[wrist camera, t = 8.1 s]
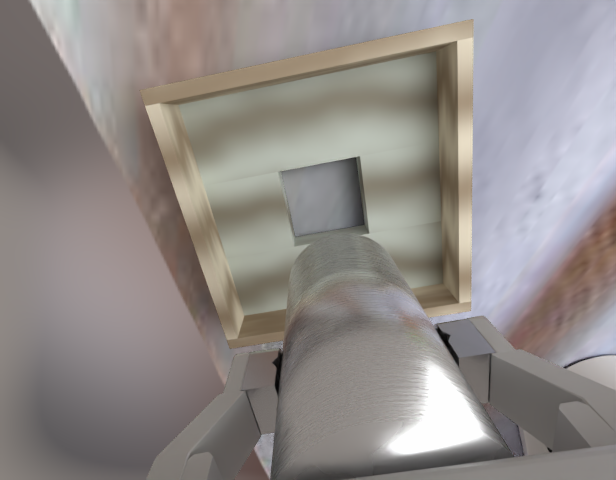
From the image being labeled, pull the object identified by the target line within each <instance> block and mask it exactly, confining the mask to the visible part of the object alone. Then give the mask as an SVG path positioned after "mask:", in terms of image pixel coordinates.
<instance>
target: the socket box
mask: <svg viewBox="0 0 616 480" xmlns="http://www.w3.org/2000/svg"><path fill="white" fill-rule="evenodd" d="M140 93H141V96H142V99H143V102H144V105H145V107H146V110H147V113H148V116H149V119H150V122H151V125H152V127H153V130H154V133H155V136H156V139H157V142H158V145H159V147H160V150H161V153H162V156H163V159H164V162H165V165H166V168H167V170H168V173H169V176H170V179H171V182H172V185H173V188H174V190H175V193H176V196H177V199H178V202H179V205H180V208H181V210H182V213H183V216H184V219H185V222H186V225H187V228H188V230H189V233H190V236H191V239H192V242H193V245H194V248H195V251H196V253H197V256H198V259H199V262H200V265H201V268H202V271H203V273H204V276H205V279H206V282H207V285H208V288H209V291H210V293H211V296H212V299H213V302H214V305H215V308H216V311H217V313H218V316H219V319H220V322H221V325H222V328H223V331H224V334H225V336H226V339H227V342H228V345H229V348H230V349H231V348H238V347H244V346H251V345H257V344H263V343H270V342H276V341H283V340H284V330H285V319H286V309H287V298H288V288H289V278H290V272H291V269H292V266H293V264H294V262H295V260H296V259H297V257H298V256H299V255H300V253H301V252H302V251H303V250H304V249H305V248H306V247H307V246H309V245H310V244H312V243H313V242H315V241H316V240H318V239H320V238H323V237H326V236H329V235H333V234H339V233H352V234H358V235H362V236H365V237H368V238H370V239H372V240H374V241H376V242H377V243H379V244H380V245H381V246H382V247H383V248H384V249H385V250H386V251H387V252H388V253H389V255H390V256H391V258H392V259H393V261H394V263H395V264H396V266H397V267H398V269H399V271H400V272H401V274H402V275H403V277H404V279H405V280H406V282H407V284H408V285H409V287H410V288H411V290H412V292H413V293H414V295H415V297H416V298H417V300H418V301H419V303H420V305H421V306H422V308H423V310H424V311H425V313H426V314H427V316H428V318H429V317H436V316H442V315H448V314H455V313H461V312H468V311H471V259H472V136H473V19H471V20H466V21H462V22H457V23H452V24H448V25H443V26H438V27H433V28H429V29H424V30H419V31H415V32H410V33H405V34H401V35H396V36H391V37H387V38H382V39H377V40H372V41H368V42H363V43H358V44H354V45H349V46H344V47H340V48H335V49H330V50H326V51H321V52H316V53H312V54H307V55H302V56H297V57H293V58H288V59H283V60H279V61H274V62H269V63H265V64H260V65H255V66H251V67H246V68H241V69H237V70H232V71H227V72H222V73H218V74H213V75H208V76H204V77H199V78H194V79H190V80H185V81H180V82H176V83H171V84H166V85H161V86H157V87H152V88H147V89H143V90H140ZM353 157H356V160H357V168H358V176H359V184H360V192H361V200H362V208H363V216H364V224H365V225H361V226H355V227H349V228H344V229H338V230H332V231H327V232H321V233H315V234H310V235H304V236H298V237H295V234H294V229H293V225H292V220H291V215H290V211H289V206H288V201H287V197H286V192H285V188H284V183H283V178H282V174H281V171H285V170H290V169H296V168H301V167H306V166H311V165H317V164H322V163H327V162H332V161H337V160H343V159H348V158H353Z"/></svg>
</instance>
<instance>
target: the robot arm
mask: <svg viewBox="0 0 616 480" xmlns="http://www.w3.org/2000/svg"><path fill="white" fill-rule="evenodd" d="M434 327H435V329H436V331H437V332H438V334H439V336H440V337H441V339H442V340H443V342H444V344H445V345H446V347H447V349H448V350H449V352H450V353H451V355H452V357H453V358H454V360H455V362H456V363H457V365H458V366H459V368H460V370H461V371H462V373H463V375H464V376H465V378H466V379H467V381H468V383H469V384H470V386H471V388H472V389H473V391H474V392H475V394H476V396H477V397H478V399H479V401H480V402H481V403H489V404H490V405H491V406H493V407H494V408H495V409H497V410H498V411H499V412H501V413H502V414H504V415H505V416H506V417H508V418H509V419H510V420H512V421H513V422H514V423H516V424H517V425H518V427H519V432H520V437H521V441H522V446H523V451H524V456H520V457H513V458H505V459H497V460H490V461H482V462H474V463H466V464H459V465H451V466H443V467H436V468H428V469H420V470H412V471H405V472H397V473H389V474H381V475H374V476H366V477H358V478H350V479H343V480H616V355H610V356H600V357H595V358H591V359H587V360H584V361H581V362H579V363H576V364H574V365H572V366H570V367H568V368H566V369H565V368H563V367H560V366H558V365H556V364H553V363H551V362H549V361H546V360H544V359H542V358H540V357H537V356H535V355H533V354H530V353H528V352H526V351H523V350H521V349H520V350H515V349H514V348H513V346H512V345H511V344H510V343H509V342H508V341H507V340H506V339H505V338H504V337H503V336H502V334H501V333H500V332H499V331H498V330H497V329H496V328H495V327H494V326H493V325H492V324H491V322H490V321H489V320H488V319H487V318H486V317H484V316H477V317H472V318H466V319H463V320H456V321H450V322H444V323H438V324H435V325H434ZM281 361H282V350H281V349H280V348H278V349H270V350H263V351H255V352H251V353H250V352H249V353H242V354H236V355H235V357H234V358H233V362H232V365H231V368H230V372H229V375H228V378H227V382H226V385H225V388H224V392H223V394H219V395H218V396H217V397H216V398H215V399H214V400H213V401H212V402H211V403H210V404H209V405H208V406H207V407H206V408H205V409H204V410H203V411H202V412H201V413H200V414H199V415H198V416H197V417H196V418H195V419H194V420H193V421H192V422H191V423H190V424H189V425H188V426H187V427H186V428H185V429H184V430H183V431H182V432H181V433H180V434H179V435H178V436H177V437H176V438H175V439H174V440H173V441H172V442H171V443H170V444H169V445H168V446H167V447H166V448H165V449H164V450H163V451H162V452H161V453H160V454H159V455H158V456H157V457H156V458H155V460H154V463H153V465H152V467H151V469H150V472H149V474H148V476H147V479H146V480H234V479H235V477H236V476H237V474H238V472H239V471H240V469H241V468H242V466H243V464H244V463H245V461H246V460H247V458H248V456H249V455H250V453H251V451H252V450H253V448H254V447H255V445H256V444H257V442H258V440H259V439H260V437H261V435H262V434H268V433H273V432H275V424H276V414H277V403H278V393H279V382H280V372H281Z"/></svg>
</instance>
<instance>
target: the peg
mask: <svg viewBox="0 0 616 480" xmlns="http://www.w3.org/2000/svg"><path fill="white" fill-rule="evenodd" d="M513 457H514V456H513V454H512V453H511V451H510V449H509V448H508V446H507V444H506V443H505V441H504V440H503V438H502V436H501V435H500V433H499V431H498V430H497V428H496V427H495V425H494V423H493V422H492V420H491V418H490V417H489V415H488V414H487V412H486V410H485V409H484V407H483V405H482V404H481V402H480V401H479V399H478V397H477V396H476V394H475V392H474V391H473V389H472V388H471V386H470V384H469V383H468V381H467V379H466V378H465V376H464V375H463V373H462V371H461V370H460V368H459V366H458V365H457V363H456V362H455V360H454V358H453V357H452V355H451V353H450V352H449V350H448V349H447V347H446V345H445V344H444V342H443V340H442V339H441V337H440V336H439V334H438V332H437V331H436V329H435V327H434V326H433V324H432V323H431V321H430V319H429V318H428V316H427V314H426V313H425V311H424V310H423V308H422V306H421V305H420V303H419V301H418V300H417V298H416V297H415V295H414V293H413V292H412V290H411V288H410V287H409V285H408V284H407V282H406V280H405V279H404V277H403V275H402V274H401V272H400V271H399V269H398V267H397V266H396V264H395V263H394V261H393V259H392V258H391V256H390V255H389V253H388V252H387V251H386V250H385V249H384V248H383V247H382V246H381V245H380V244H379V243H377V242H376V241H374V240H372V239H370V238H368V237H365V236H362V235H358V234H352V233H339V234H333V235H329V236H326V237H323V238H320V239H318V240H316V241H315V242H313V243H312V244H310V245H309V246H307V247H306V248H305V249H304V250H303V251H302V252H301V253H300V255H299V256H298V257H297V259H296V260H295V262H294V264H293V266H292V269H291V272H290V278H289V288H288V298H287V309H286V319H285V330H284V340H283V351H282V361H281V372H280V382H279V393H278V403H277V414H276V424H275V435H274V446H273V456H272V467H271V477H270V480H343V479H350V478H358V477H366V476H374V475H381V474H389V473H397V472H405V471H412V470H420V469H428V468H436V467H443V466H451V465H459V464H466V463H474V462H482V461H490V460H497V459H505V458H513Z"/></svg>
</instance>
